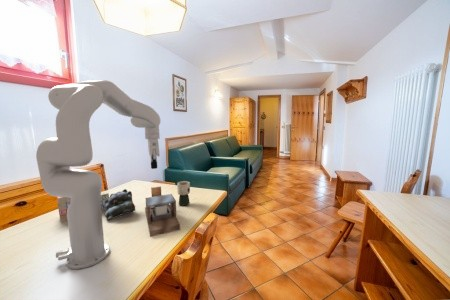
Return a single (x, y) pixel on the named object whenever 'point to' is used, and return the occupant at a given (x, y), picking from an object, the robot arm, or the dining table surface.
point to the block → (161, 209)
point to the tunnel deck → (164, 224)
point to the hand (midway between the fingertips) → (154, 168)
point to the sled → (155, 192)
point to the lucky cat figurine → (119, 204)
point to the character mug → (183, 192)
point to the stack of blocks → (65, 202)
